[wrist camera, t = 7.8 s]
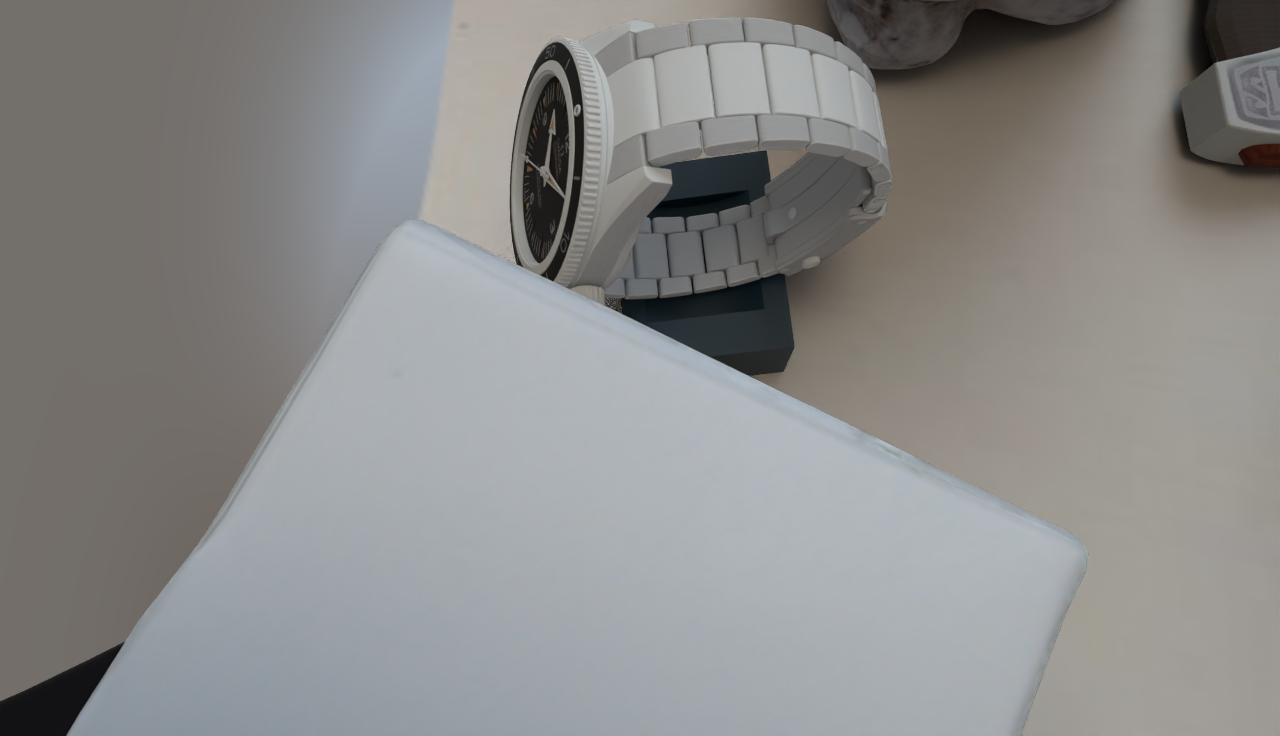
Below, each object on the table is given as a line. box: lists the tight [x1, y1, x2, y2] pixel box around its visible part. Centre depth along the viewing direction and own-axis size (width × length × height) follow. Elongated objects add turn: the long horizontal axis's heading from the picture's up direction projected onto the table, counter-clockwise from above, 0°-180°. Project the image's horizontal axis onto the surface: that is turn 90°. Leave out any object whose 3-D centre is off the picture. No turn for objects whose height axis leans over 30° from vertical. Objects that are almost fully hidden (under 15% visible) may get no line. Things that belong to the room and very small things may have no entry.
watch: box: [510, 18, 893, 375], centre depth 17 cm, size 6×8×11 cm
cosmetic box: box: [66, 220, 1089, 736], centre depth 9 cm, size 6×4×12 cm
